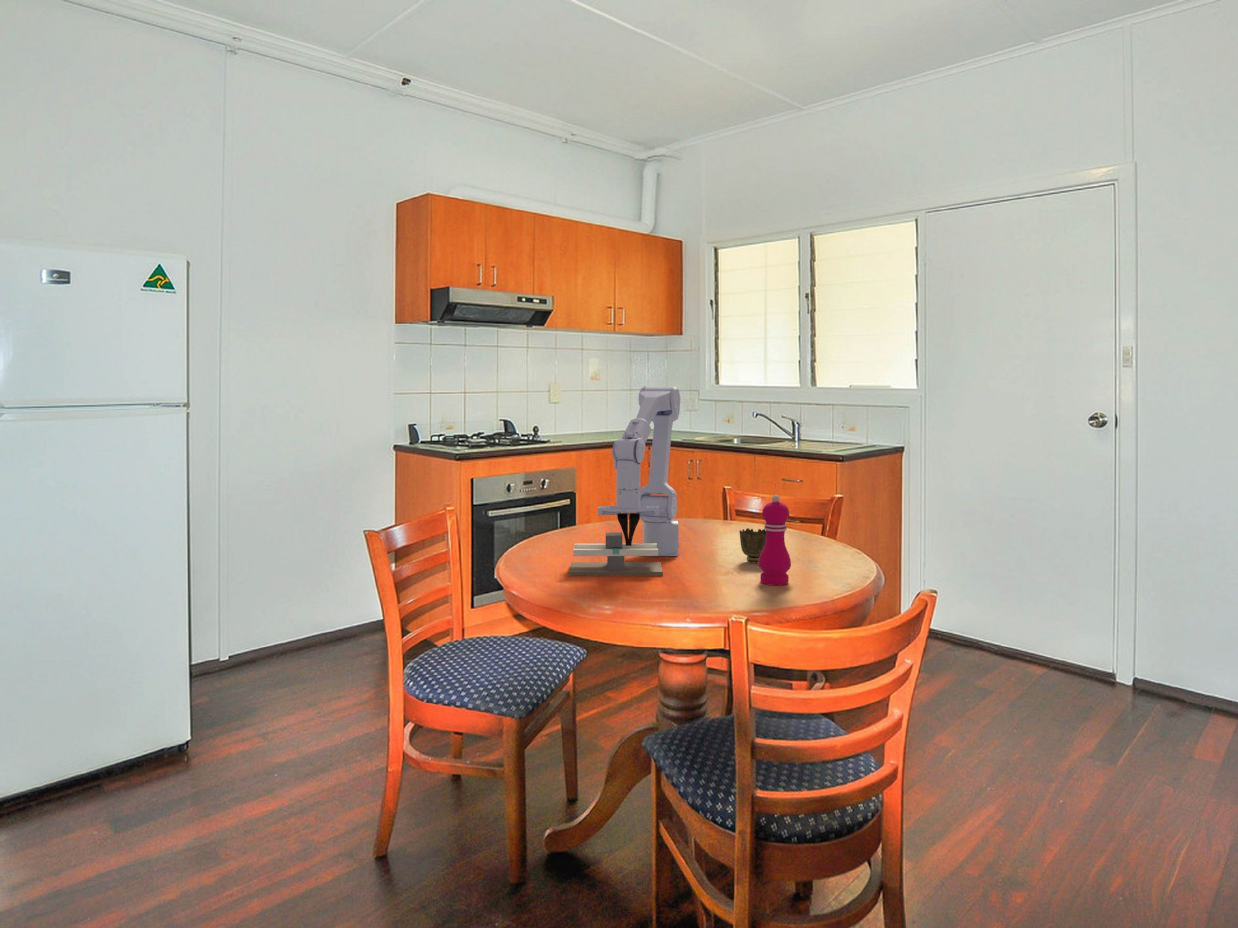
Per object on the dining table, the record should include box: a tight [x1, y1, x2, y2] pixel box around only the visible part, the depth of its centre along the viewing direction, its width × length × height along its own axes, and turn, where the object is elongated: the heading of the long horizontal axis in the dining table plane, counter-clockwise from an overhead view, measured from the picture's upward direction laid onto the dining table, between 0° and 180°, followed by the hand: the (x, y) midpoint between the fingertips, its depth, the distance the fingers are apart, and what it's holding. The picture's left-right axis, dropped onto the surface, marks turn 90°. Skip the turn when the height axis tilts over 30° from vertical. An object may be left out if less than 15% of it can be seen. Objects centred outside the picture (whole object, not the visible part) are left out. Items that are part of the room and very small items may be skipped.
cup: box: [739, 527, 766, 564], centre depth 197 cm, size 8×7×8 cm
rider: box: [605, 531, 623, 549], centre depth 188 cm, size 4×4×4 cm
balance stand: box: [568, 542, 664, 577], centre depth 188 cm, size 22×10×6 cm, turn 91°
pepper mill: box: [758, 494, 792, 586], centre depth 177 cm, size 7×7×20 cm
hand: (628, 544), depth 188 cm, fingers closed
